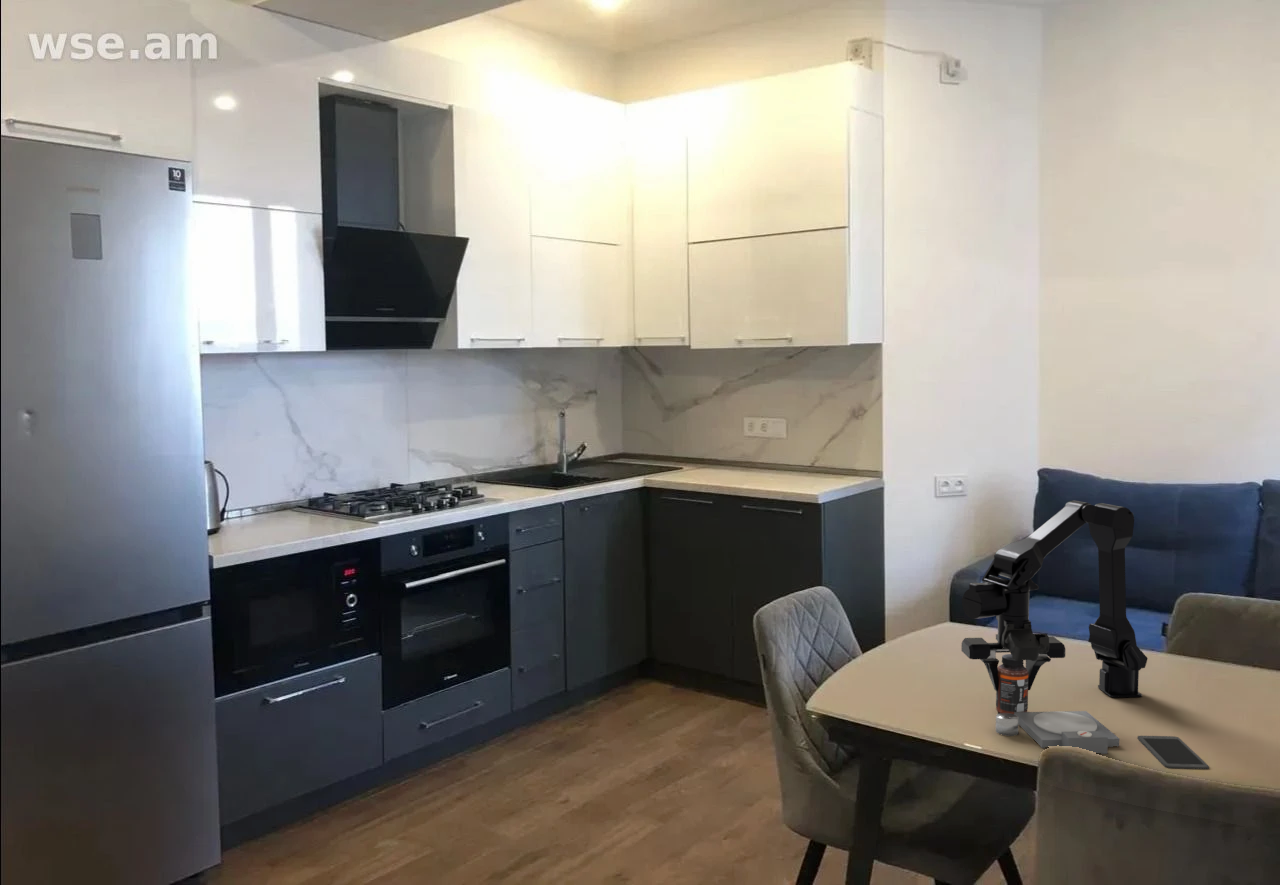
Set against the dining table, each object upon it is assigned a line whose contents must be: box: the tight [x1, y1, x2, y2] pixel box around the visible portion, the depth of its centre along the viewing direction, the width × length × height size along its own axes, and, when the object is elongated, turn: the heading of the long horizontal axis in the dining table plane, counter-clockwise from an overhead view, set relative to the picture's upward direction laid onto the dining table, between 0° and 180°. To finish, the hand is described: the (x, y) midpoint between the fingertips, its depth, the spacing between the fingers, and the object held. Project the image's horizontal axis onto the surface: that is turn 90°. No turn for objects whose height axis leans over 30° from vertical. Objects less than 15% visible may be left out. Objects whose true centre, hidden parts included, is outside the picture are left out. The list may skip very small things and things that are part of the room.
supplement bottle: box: [995, 653, 1029, 714], centre depth 203 cm, size 6×6×11 cm
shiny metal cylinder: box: [995, 712, 1019, 737], centre depth 194 cm, size 4×4×3 cm
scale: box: [1014, 710, 1120, 755], centre depth 191 cm, size 14×17×3 cm
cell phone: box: [1137, 735, 1210, 770], centre depth 183 cm, size 7×14×1 cm, turn 174°
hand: (1012, 689), depth 203 cm, fingers closed on supplement bottle, 6 cm apart
